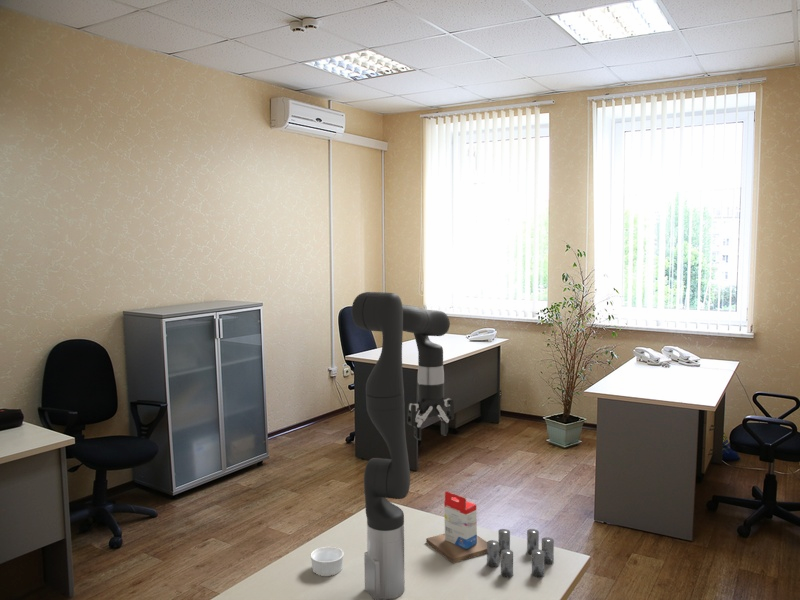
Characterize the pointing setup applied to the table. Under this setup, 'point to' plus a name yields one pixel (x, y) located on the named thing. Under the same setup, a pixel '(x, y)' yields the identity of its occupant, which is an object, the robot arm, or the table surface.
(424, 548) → the table surface
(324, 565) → the ramekin
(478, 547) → the walnut board
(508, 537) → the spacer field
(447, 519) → the ink box
